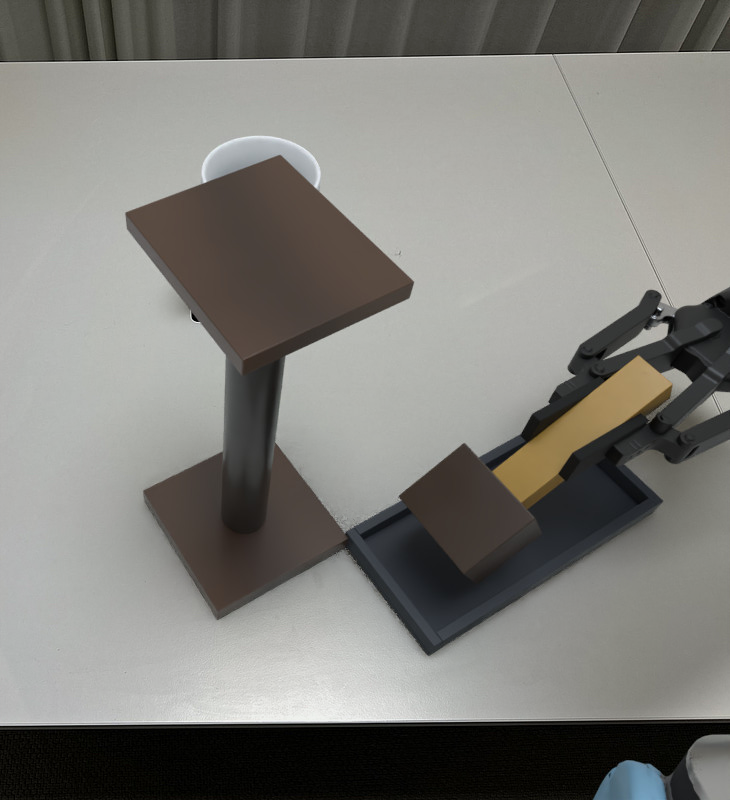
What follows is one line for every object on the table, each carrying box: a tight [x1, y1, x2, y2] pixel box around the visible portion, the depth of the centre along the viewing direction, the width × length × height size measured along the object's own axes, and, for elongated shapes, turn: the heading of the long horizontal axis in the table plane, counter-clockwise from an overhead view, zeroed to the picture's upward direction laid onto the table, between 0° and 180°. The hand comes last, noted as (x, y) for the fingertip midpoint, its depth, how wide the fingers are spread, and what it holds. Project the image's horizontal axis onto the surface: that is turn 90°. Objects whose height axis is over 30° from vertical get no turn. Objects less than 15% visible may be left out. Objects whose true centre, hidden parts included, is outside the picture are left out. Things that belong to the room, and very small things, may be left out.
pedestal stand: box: [124, 155, 415, 620], centre depth 53 cm, size 12×12×30 cm
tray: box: [344, 433, 664, 657], centre depth 63 cm, size 24×11×2 cm, turn 120°
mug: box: [200, 135, 322, 192], centre depth 76 cm, size 15×11×13 cm
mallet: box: [398, 355, 674, 584], centre depth 56 cm, size 19×7×6 cm, turn 120°
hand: (549, 447), depth 55 cm, fingers closed on mallet, 3 cm apart
